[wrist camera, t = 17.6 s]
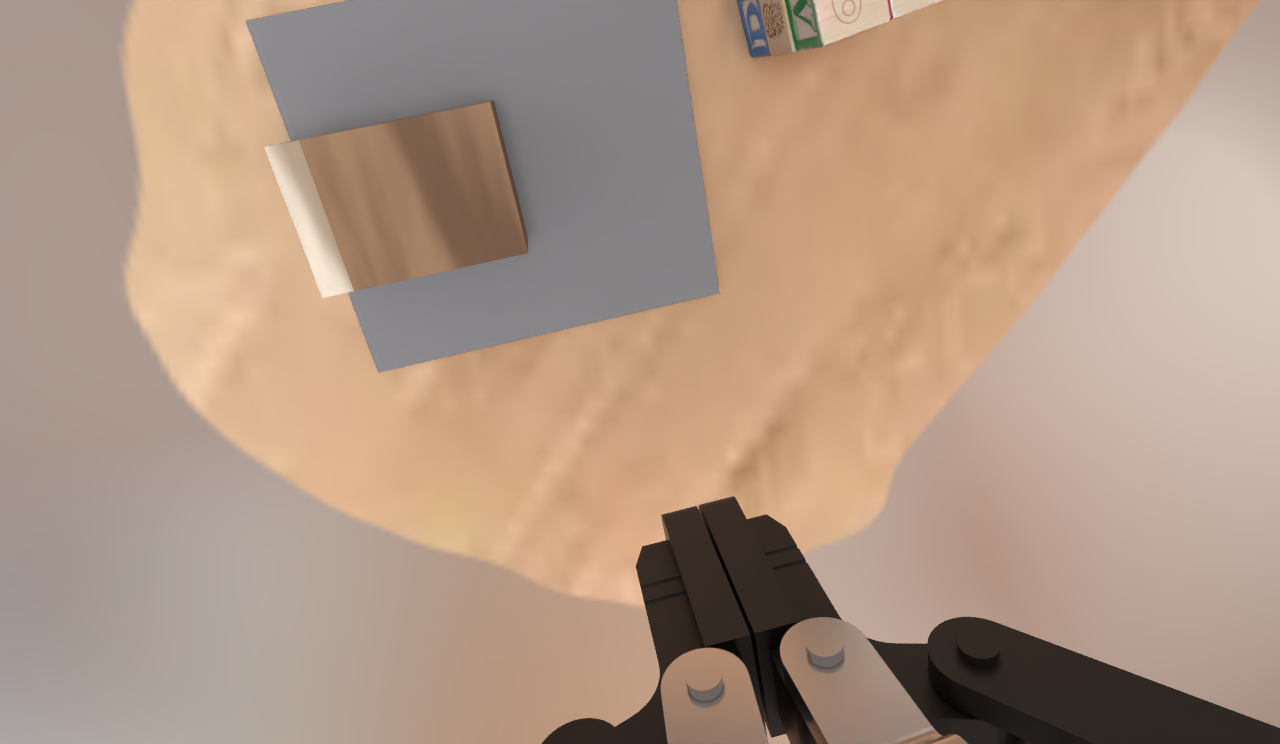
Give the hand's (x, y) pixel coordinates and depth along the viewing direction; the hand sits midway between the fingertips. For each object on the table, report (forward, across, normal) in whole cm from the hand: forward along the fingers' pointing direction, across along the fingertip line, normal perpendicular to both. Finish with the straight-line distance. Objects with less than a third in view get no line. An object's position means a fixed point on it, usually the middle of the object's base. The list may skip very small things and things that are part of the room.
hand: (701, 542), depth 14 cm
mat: (+27, +3, -5) cm, 28 cm away
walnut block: (+25, +3, -5) cm, 25 cm away
